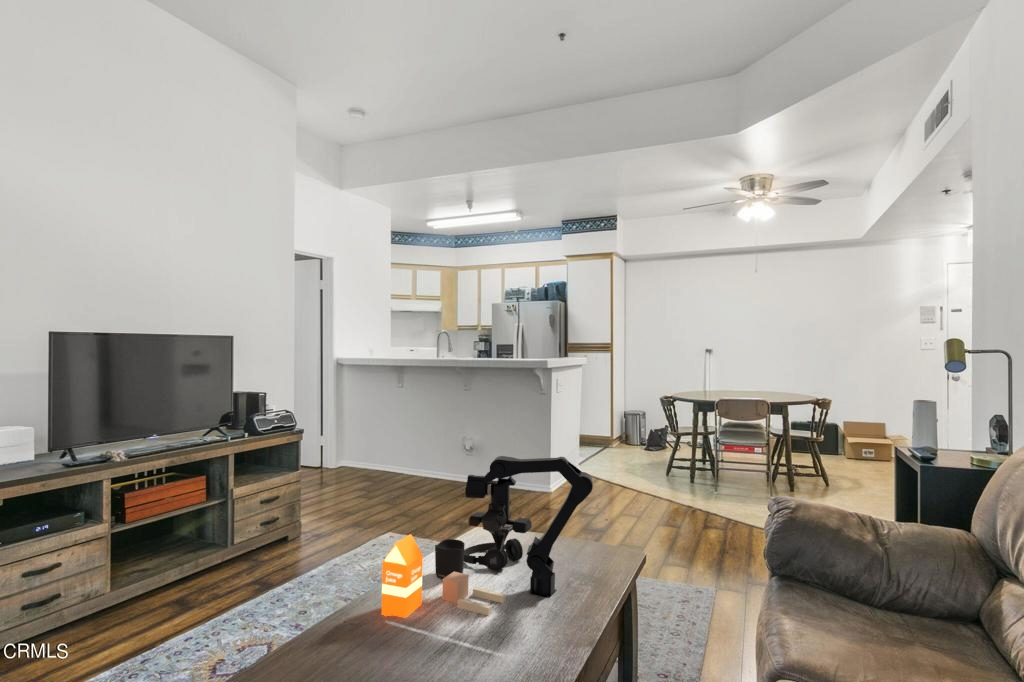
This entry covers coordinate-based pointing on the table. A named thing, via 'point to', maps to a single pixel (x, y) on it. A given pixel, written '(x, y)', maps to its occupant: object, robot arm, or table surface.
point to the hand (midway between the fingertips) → (499, 550)
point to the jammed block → (455, 587)
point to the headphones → (494, 554)
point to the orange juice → (402, 579)
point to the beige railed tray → (478, 606)
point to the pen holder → (449, 557)
